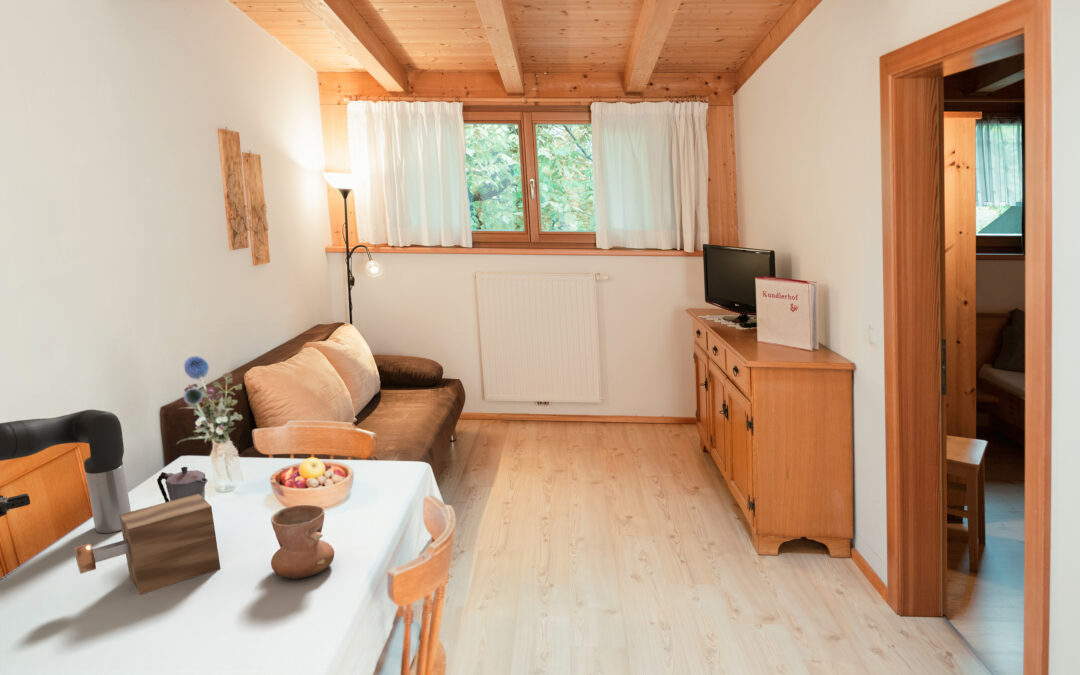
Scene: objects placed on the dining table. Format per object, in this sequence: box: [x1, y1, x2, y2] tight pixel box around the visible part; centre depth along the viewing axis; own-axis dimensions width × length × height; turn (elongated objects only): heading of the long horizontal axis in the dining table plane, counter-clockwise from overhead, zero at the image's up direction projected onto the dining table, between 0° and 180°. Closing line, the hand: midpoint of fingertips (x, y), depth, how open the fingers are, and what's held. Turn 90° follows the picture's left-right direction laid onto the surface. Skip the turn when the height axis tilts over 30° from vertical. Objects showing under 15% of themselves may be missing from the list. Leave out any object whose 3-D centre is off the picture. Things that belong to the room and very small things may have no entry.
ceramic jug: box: [270, 504, 335, 579], centre depth 192 cm, size 18×14×14 cm
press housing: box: [119, 494, 221, 595], centre depth 193 cm, size 11×18×16 cm, turn 127°
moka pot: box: [156, 466, 209, 503], centre depth 211 cm, size 10×15×20 cm, turn 78°
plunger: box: [74, 539, 130, 575], centre depth 188 cm, size 6×21×6 cm, turn 127°
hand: (29, 498), depth 174 cm, fingers closed
